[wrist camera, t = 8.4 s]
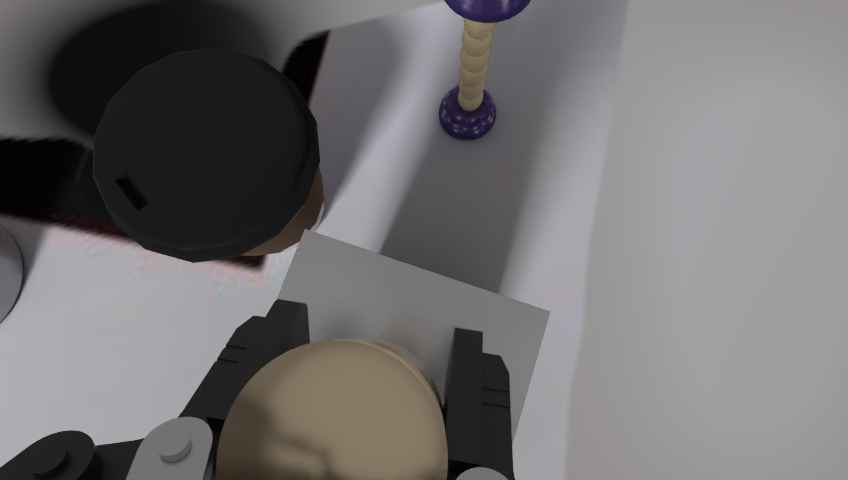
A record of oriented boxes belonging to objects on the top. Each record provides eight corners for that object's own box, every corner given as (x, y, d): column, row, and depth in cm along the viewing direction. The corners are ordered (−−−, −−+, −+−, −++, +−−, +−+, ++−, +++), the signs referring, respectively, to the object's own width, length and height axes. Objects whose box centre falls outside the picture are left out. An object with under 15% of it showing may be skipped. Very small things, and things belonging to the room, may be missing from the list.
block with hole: (321, 407, 30) (201, 488, 15) (368, 279, 32) (305, 228, 16) (450, 454, 30) (469, 594, 14) (491, 321, 31) (550, 311, 15)
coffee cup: (265, 317, 32) (165, 309, 20) (176, 202, 33) (35, 132, 22) (386, 216, 33) (360, 151, 21) (293, 110, 35) (221, -3, 23)
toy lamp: (426, 96, 35) (419, -116, 18) (481, 71, 35) (524, -158, 18) (453, 149, 34) (472, -22, 17) (510, 124, 34) (581, -68, 18)
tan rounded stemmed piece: (325, 409, 25) (74, 591, 8) (367, 294, 26) (233, 222, 9) (439, 451, 24) (454, 754, 7) (477, 332, 26) (569, 336, 8)
